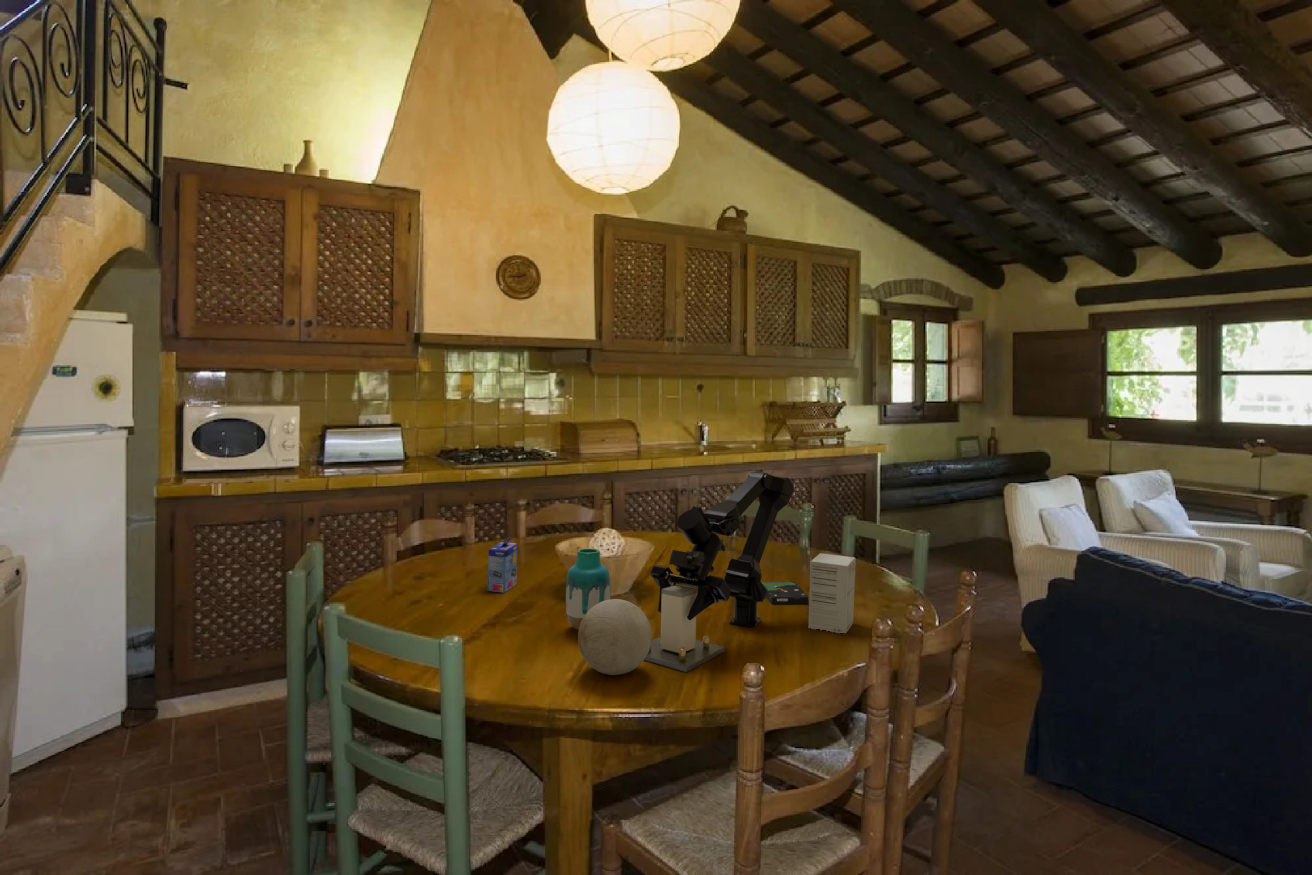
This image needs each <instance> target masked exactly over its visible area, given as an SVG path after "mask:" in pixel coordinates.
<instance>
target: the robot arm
mask: <svg viewBox="0 0 1312 875" xmlns="http://www.w3.org/2000/svg"><path fill="white" fill-rule="evenodd" d="M794 486H795V485H794V483H793V482H792V480H791V478H790V477H786V476H785V477H783V476H778V475H777V476H775V475H771V474H769V473H767V472H764V471H763V472H762V471H751V472H750V473H749V474H748V476H747V479H745V481H743V483H741V485H739V487H738V488H736V489H735V491H734V492H733V493H732V494H731V495H730V496H729V497H728V498H727V499H726V500H724V501H723V502H720V503H716V504H714V505H713V506H711V507H710V508H708V509H707V510H706V511H705V513H704V510H703V509H702V507H700V506H695V505H692V507H691V509H687V510H686V511H684V512H683V513H682V514H681V515H679V516H678V518H677V520H676V525H677V528H678V529H679V530H680V532H682V534H683V536H684V537H685V538H686V539H687V541H688V542H689V543H690V544H692V545H693V546H692V548H691V550H690V551H689V550H687V551H683V550H682V551H681V550H677V549H676V550H675V549H672V550H671V554H670V558H669V561H668V564H669V565H673V566H675V571H676V572H678V573H679V574H674V572H673V571H672V570H671V568H670V567H668V566H663V565H659V564H656V565H653V566H652V568H651V570H650V572H649V573H648V574H649V575H650V577H651V578H652V580H654V582H655V583H656V585H657V586H658V587H659V599H658V609H657V611H658V613H659V614H661V599H662V589H664V588H668V587H671V586H675V585H680V586H684V587H690V588H695V589H697V596H696V598H695V600H694V603H693V605H692V607H691V609H690V611H689V614H688V616H687V618H688V620H692V619H693V618H694V617H695V616H696V617H697V616H698V615H699V614H700V613H702V612H703V611H704V610H705V609H707V608H709V607H711V606H712V605H713V604H718V603H719V602H720V601H722V602H728V601H729V599H730V597H732V598H734V600H733V602H734V605H733V607H734V608H733V617H732V618H731V619H730V620H729V624H733V625H740V626H745V627H751V628H752V627H753V628H755V627H756V626H757V625H758V624H759V623H760V621H761V620H762V617H761V616H758V603H760V602H761V603H762V602H764V600H766V593H767V590H766V589H765V587H764V586H763V584H762V581H761V580H762V578H763V574H762V570H761V565H760V563H761V561H762V560H761V559H762V556H763V554H764V551H765V550H766V546H767V543H768V541H769V538H770V535H771V533H772V530H773V527H774V524H775V521H776V519H777V518H776V517H777V516H778V513H779V512H780V511H781V510H782V509H784V507H786V506H787V505H788V504H789V501H790V499H791V497H792V495H793V494H794V489H795V487H794ZM757 499H758V503H759V505H758V507H757V512H756V513H755V516H754V519H753V522H752V525H751V527H750V529H749V533H748V535H747V538H746V541H745V542H744V546H743V548H742V551H741V554H740V556H739V557H737V558H731V559H730V560H729V563H728V566H727V569H726V570H725V571H724V574H725V575H724V576H723V577H724V578H723V577H719V576H714V575H709V573H713V572H714V570H715V567H714V566H713V564H714V563H715V560H716V558H717V556H718V553H719V552H726V545H725V543H724V539H722V538H720V536H724V537H725V536H727V537H731V536H732V535H733V534H734V533H735V532H736V530H737V529H738V528H739V526H740V524H741V516H742V515H743V514H744V513H745V511H746V510H747V509H748V508H749V507H751V505H752V504H753V503H754V502H755V501H756V500H757ZM718 535H719V536H718Z"/></svg>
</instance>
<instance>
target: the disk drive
mask: <svg viewBox="0 0 1312 875" xmlns="http://www.w3.org/2000/svg"><path fill="white" fill-rule="evenodd" d="M761 583H762V584H763V586H764V587H765V589H766V590H767V593H766V597H765V599H767V600H768V602H769V603H770V604H771V605H772V606H773V605H775V606H776V605H780V606H781V605H790V606H791V605H793V606H794V605H795V606H796V605H809V594H807V593H806V592H805V591H804V590H803V589H802V588H801V586H800V585H799V584H798V583H797V582H796V581H775V582H774V581H772V582H770V581H769V582H765V581H761Z"/></svg>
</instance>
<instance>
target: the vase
mask: <svg viewBox="0 0 1312 875" xmlns="http://www.w3.org/2000/svg"><path fill="white" fill-rule="evenodd" d="M610 599H611V576H610V571H609V569H608V568H607V566H606V565H603V564H602V562H601V551H600V549H598V548H593V547H587V548H586V547H585V548H580V549H578V550H577V551H576V562H575V564H574V565H572V566H571V567H570V568H569V569H568V571H567V575H566V580H565V609H566V617H567V622H568V623H569V625H570V626H571V628H574V629H575V630H577V631H579V626H580V624H581V621H582V619H583V617H584V616H585V614H586V613H587V612H588V611H589V610H590V609H591V608H592V607H593V606H595V605H596V604H598V603H600V602H602V601H605V600H610Z"/></svg>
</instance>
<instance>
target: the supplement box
mask: <svg viewBox="0 0 1312 875" xmlns="http://www.w3.org/2000/svg"><path fill="white" fill-rule="evenodd" d="M855 581H856V557H853V556H846V555H839V554H829V553H818V554H817V555H816V556H815V557H814V558H813V559H812V560H810V562H809V590H808V591H809V594H808V596H809V604H808V624H807V625H808V626H807V627H808V628H807V629H810V628H811V630H816V629H820V630H819V631H822V630H826V631H825V632H828V631H830V632H829V633H834V632H835V633H836V634H840V633H846V634H847V632H848V631H849V630H850V629H851V627H852V625H853V624H854V613H855V612H854V611H855V610H854V608H855V607H854V606H855V605H854V604H855V583H856V582H855Z"/></svg>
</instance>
